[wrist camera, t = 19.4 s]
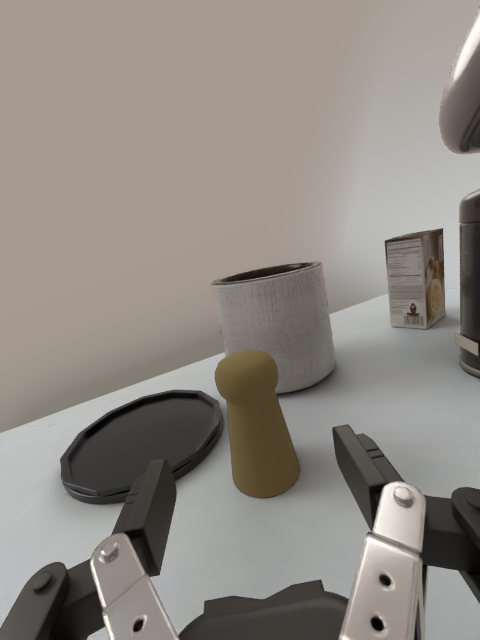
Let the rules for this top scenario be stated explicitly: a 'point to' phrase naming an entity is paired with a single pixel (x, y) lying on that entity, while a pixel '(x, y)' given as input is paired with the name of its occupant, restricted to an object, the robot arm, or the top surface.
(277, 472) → the cork
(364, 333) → the top surface
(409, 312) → the coffee box
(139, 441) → the metal plate
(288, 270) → the planter
